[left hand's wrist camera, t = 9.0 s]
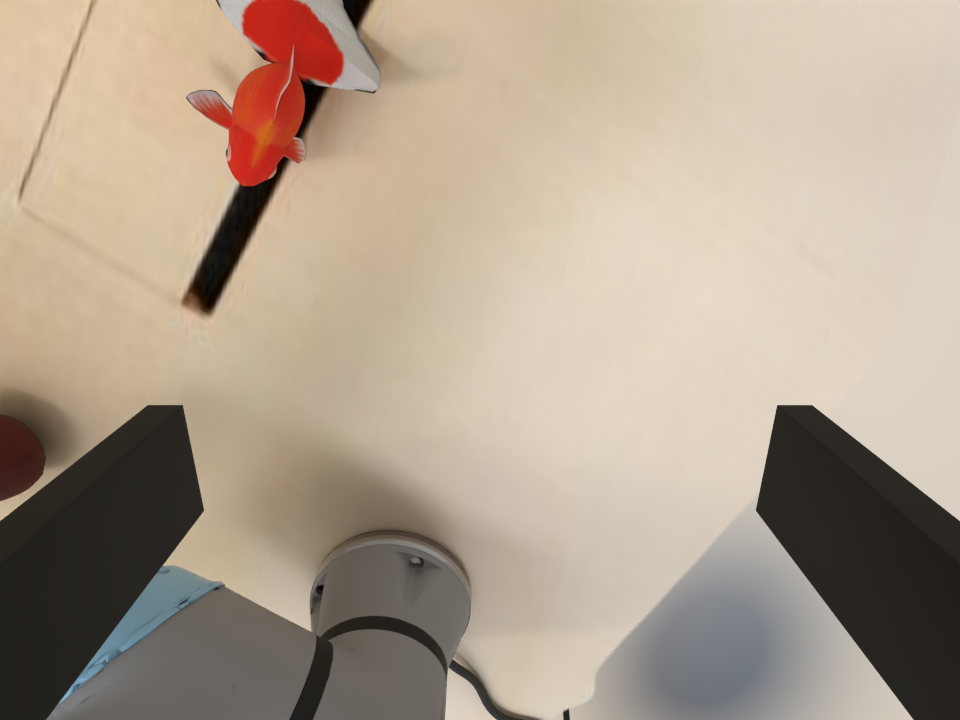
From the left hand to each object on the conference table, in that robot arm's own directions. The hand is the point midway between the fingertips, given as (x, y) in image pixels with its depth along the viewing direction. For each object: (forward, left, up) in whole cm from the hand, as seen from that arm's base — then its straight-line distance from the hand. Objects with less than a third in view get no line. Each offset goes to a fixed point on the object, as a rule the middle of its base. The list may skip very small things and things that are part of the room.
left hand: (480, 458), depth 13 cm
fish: (+15, +8, -33) cm, 37 cm away
